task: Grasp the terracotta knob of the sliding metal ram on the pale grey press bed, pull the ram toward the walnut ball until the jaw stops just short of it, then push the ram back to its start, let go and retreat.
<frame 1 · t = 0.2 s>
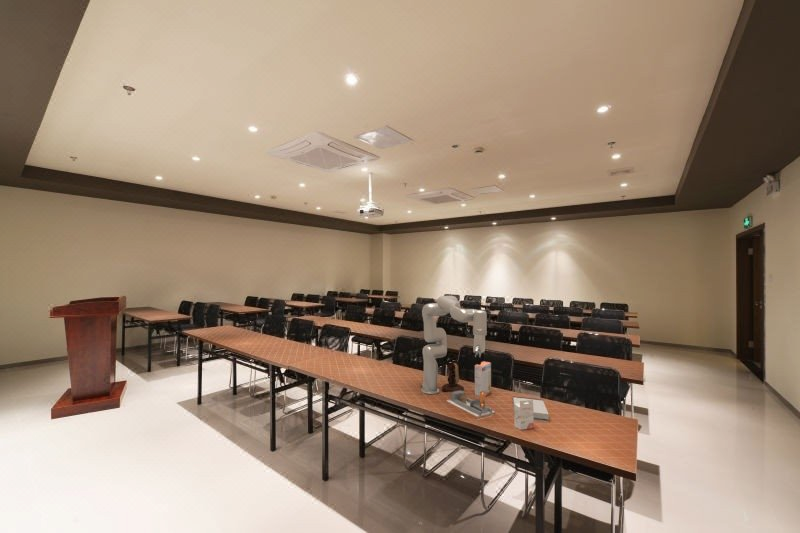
hand: (479, 362, 192), 30 cm above the table, fingers open, 9 cm apart
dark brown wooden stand: (453, 391, 232), on the table
ram: (479, 400, 194), point 7 cm above the table, slide at 0.0 cm
cracker box: (482, 395, 225), on the table
disc drive: (529, 413, 198), on the table
nut: (463, 402, 206), point 1 cm above the table, touching press bed
press bed: (469, 408, 201), on the table
ink cartridge box: (523, 427, 177), on the table
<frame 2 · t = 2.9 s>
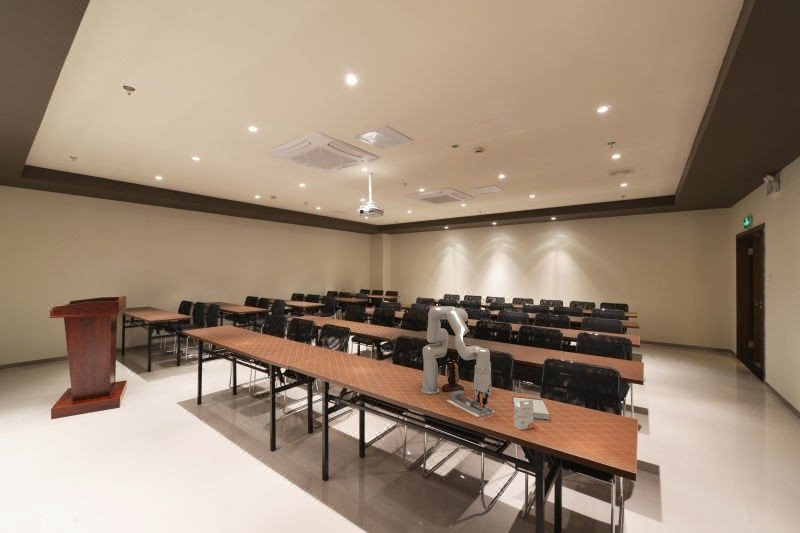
hand: (482, 402, 192), 7 cm above the table, fingers closed on ram, 3 cm apart
ram: (479, 400, 194), point 7 cm above the table, slide at 0.0 cm, touching gripper
everything else where it was.
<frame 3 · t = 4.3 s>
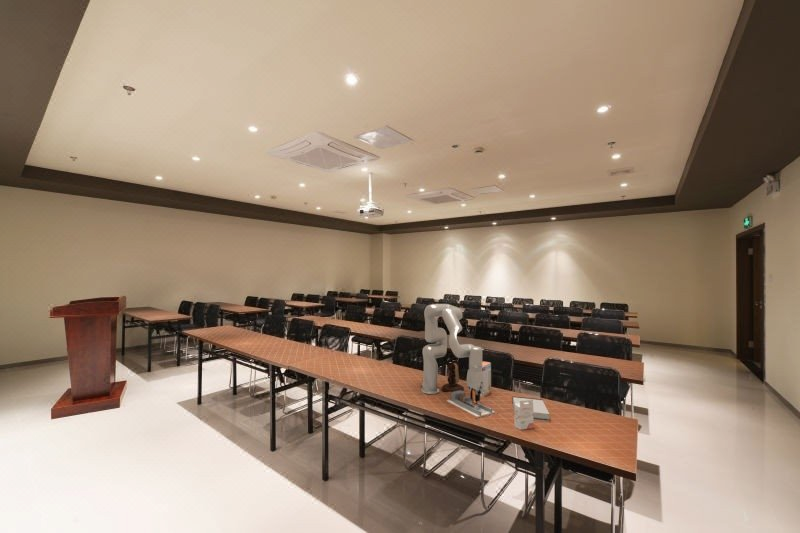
hand: (475, 399, 197), 7 cm above the table, fingers closed on ram, 3 cm apart
ram: (472, 397, 199), point 7 cm above the table, slide at 5.9 cm, touching gripper
everything else where it was.
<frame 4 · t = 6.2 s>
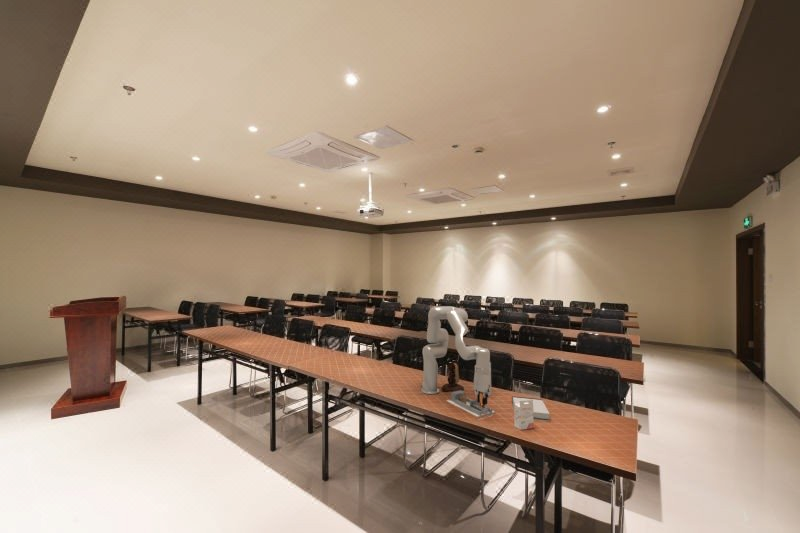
hand: (482, 402, 192), 7 cm above the table, fingers closed on ram, 3 cm apart
ram: (479, 400, 194), point 7 cm above the table, slide at 0.0 cm, touching gripper
everything else where it was.
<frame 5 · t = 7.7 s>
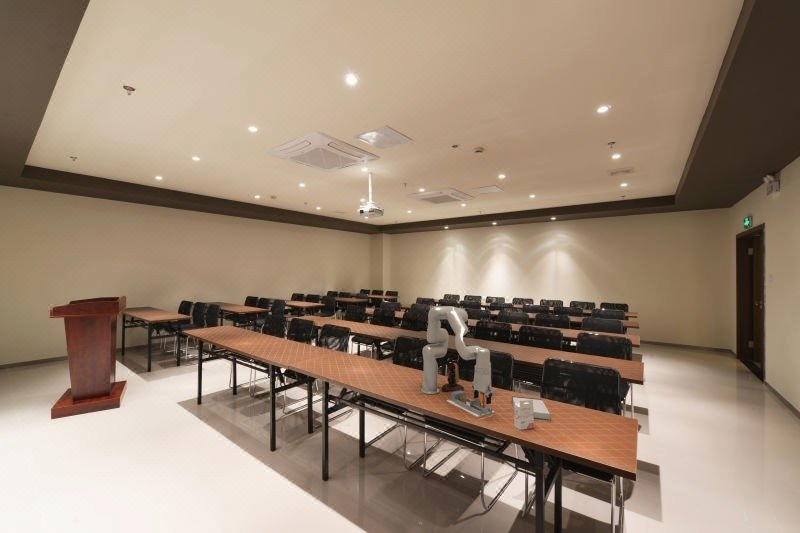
hand: (482, 400, 192), 8 cm above the table, fingers open, 9 cm apart
ram: (479, 400, 194), point 7 cm above the table, slide at 0.0 cm
everything else where it was.
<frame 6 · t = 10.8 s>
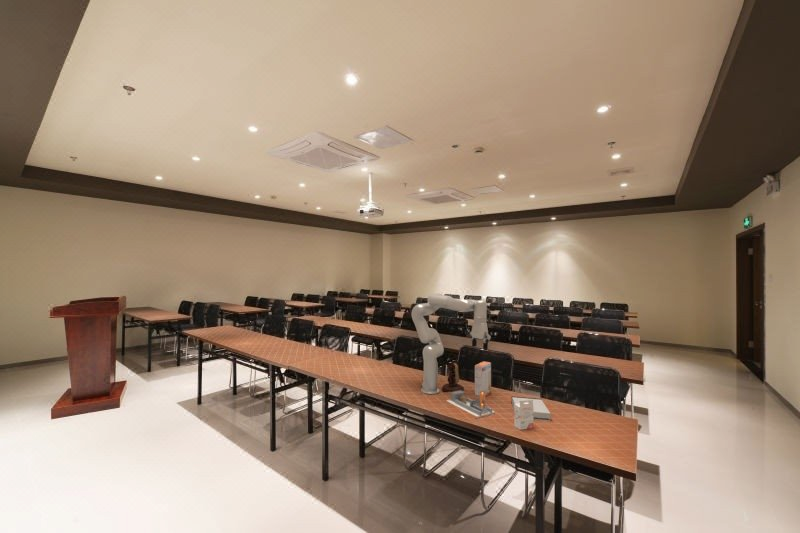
hand: (479, 347, 211), 34 cm above the table, fingers open, 9 cm apart
nothing on the table moved.
at the end: ram slide at 0.0 cm; nut moved 0.1 cm from its start; the gripper is holding nothing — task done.
